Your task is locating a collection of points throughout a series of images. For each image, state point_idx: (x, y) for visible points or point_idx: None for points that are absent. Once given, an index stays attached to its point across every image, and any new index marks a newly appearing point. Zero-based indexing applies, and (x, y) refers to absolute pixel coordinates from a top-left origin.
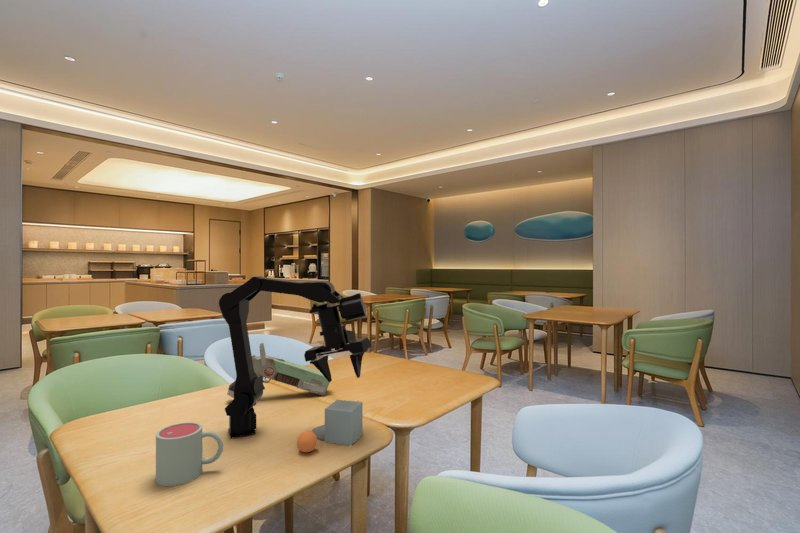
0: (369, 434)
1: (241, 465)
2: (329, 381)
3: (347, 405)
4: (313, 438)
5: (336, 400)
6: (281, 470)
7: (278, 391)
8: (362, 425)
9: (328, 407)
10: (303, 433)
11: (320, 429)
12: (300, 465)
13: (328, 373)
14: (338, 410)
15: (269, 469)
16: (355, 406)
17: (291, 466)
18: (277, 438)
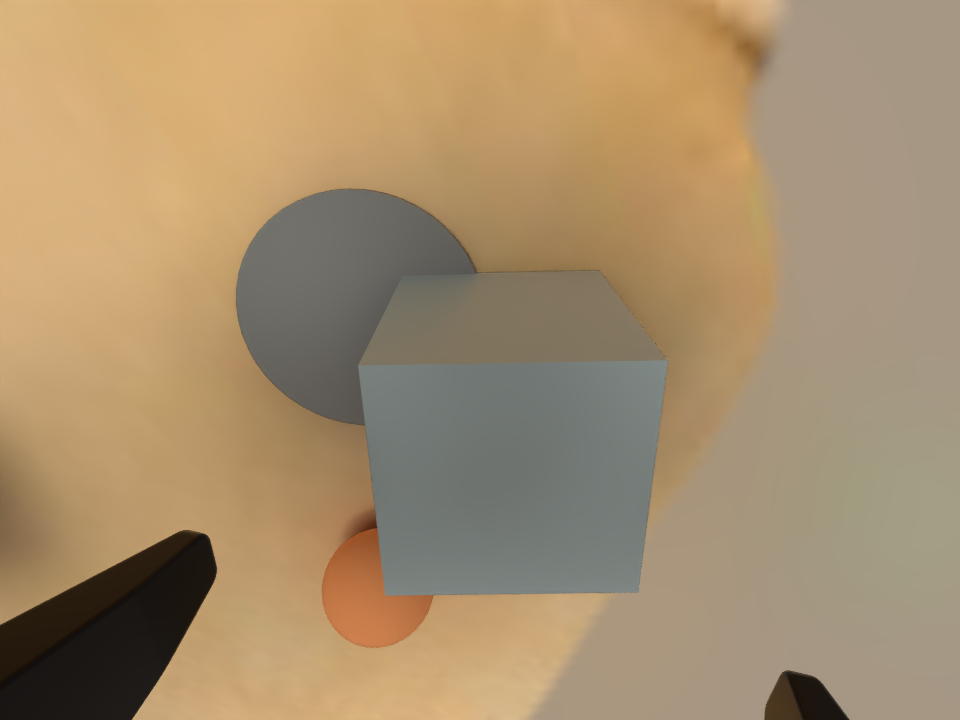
0: (649, 264)
1: (208, 693)
2: (208, 584)
3: (544, 482)
4: (423, 616)
5: (366, 394)
6: (386, 683)
7: None
8: (611, 288)
9: (397, 563)
10: (358, 642)
11: (289, 306)
12: (436, 642)
13: (97, 691)
14: (516, 593)
15: (336, 689)
16: (630, 482)
17: (405, 655)
18: (132, 474)
